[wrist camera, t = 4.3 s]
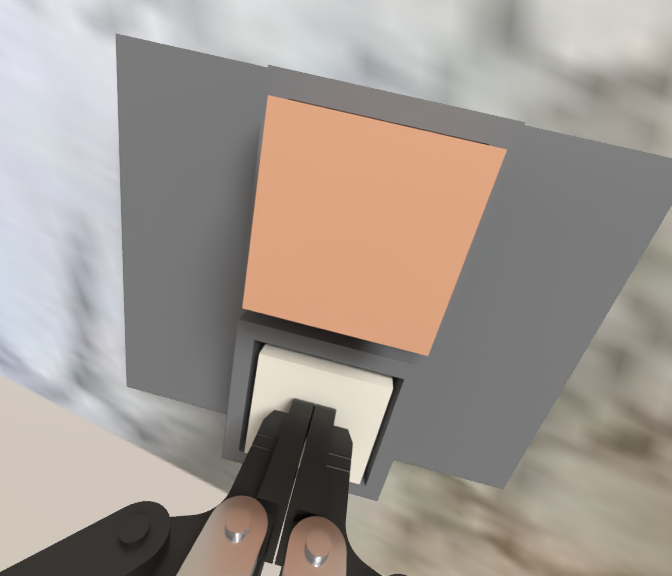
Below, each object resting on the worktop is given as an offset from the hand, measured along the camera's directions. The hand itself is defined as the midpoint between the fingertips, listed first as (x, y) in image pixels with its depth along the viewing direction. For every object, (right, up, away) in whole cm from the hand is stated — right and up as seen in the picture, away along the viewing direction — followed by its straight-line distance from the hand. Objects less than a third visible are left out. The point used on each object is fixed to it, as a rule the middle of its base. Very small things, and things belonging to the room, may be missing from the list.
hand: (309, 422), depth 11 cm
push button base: (+2, +5, +4) cm, 7 cm away
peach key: (+2, +6, -2) cm, 7 cm away
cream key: (0, +1, +2) cm, 3 cm away
